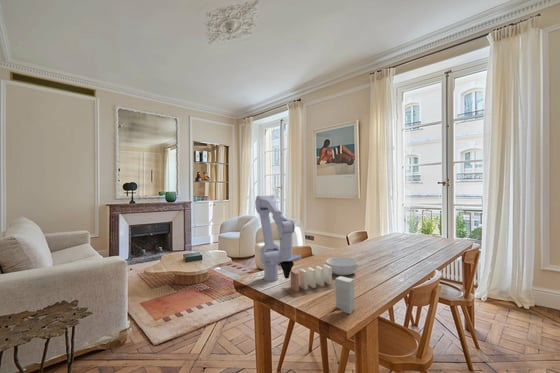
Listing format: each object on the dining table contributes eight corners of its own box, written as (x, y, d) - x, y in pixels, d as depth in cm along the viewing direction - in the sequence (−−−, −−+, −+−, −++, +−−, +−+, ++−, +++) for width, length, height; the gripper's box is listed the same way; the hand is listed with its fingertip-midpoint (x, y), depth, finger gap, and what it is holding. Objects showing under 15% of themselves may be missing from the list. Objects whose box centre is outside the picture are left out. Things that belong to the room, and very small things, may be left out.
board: (292, 300, 107) (292, 297, 107) (281, 290, 117) (281, 288, 117) (341, 289, 117) (341, 287, 117) (327, 281, 127) (327, 279, 127)
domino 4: (329, 284, 120) (328, 267, 120) (323, 281, 125) (323, 264, 125) (332, 283, 121) (331, 267, 121) (326, 280, 126) (325, 264, 126)
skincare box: (355, 310, 97) (354, 279, 97) (350, 314, 94) (349, 282, 94) (340, 305, 101) (340, 275, 101) (335, 309, 98) (334, 278, 98)
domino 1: (304, 289, 115) (304, 272, 115) (299, 286, 119) (299, 269, 119) (307, 289, 115) (307, 271, 115) (302, 285, 120) (302, 268, 120)
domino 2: (313, 288, 117) (312, 270, 117) (307, 284, 121) (307, 267, 121) (316, 287, 117) (315, 270, 117) (310, 283, 122) (310, 267, 122)
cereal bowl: (332, 267, 149) (332, 255, 149) (361, 271, 141) (361, 259, 141) (321, 276, 135) (321, 263, 135) (353, 281, 126) (352, 267, 126)
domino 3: (321, 286, 118) (321, 269, 119) (315, 282, 123) (315, 266, 123) (324, 285, 119) (323, 268, 119) (318, 282, 124) (318, 265, 124)
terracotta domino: (295, 291, 113) (295, 273, 113) (290, 287, 118) (290, 270, 118) (299, 290, 114) (298, 273, 114) (293, 287, 118) (293, 269, 118)
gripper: (274, 251, 107) (275, 283, 107) (304, 247, 113) (305, 277, 113) (268, 248, 114) (269, 278, 114) (297, 244, 120) (297, 273, 120)
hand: (286, 277), depth 114 cm, fingers closed
